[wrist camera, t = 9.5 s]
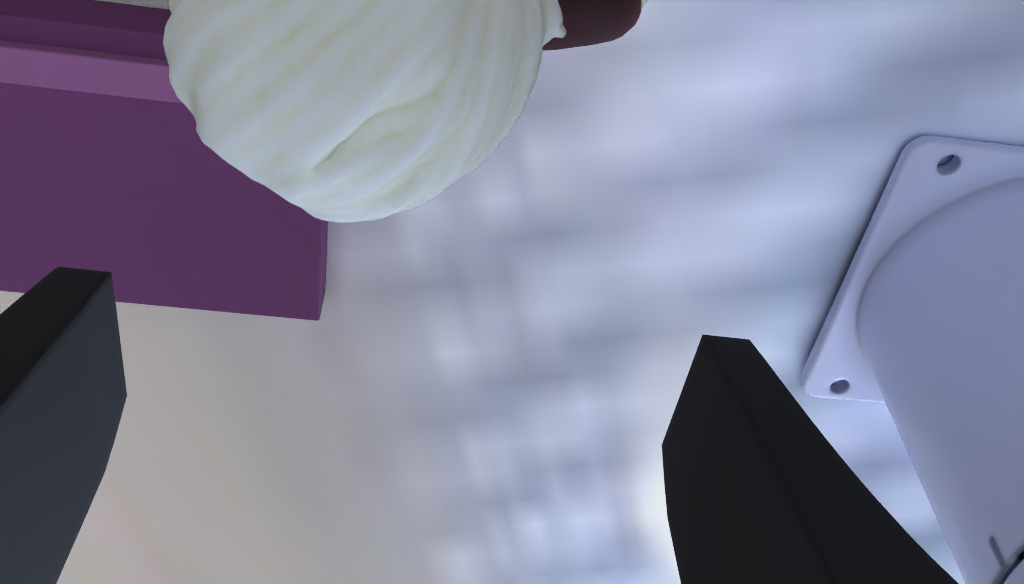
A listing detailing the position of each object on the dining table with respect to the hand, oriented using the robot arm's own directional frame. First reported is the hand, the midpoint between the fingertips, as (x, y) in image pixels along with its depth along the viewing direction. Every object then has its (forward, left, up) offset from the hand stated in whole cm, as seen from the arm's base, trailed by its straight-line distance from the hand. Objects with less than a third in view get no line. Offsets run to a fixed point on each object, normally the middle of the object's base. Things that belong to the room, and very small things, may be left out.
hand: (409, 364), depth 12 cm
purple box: (+7, +4, -10) cm, 13 cm away
